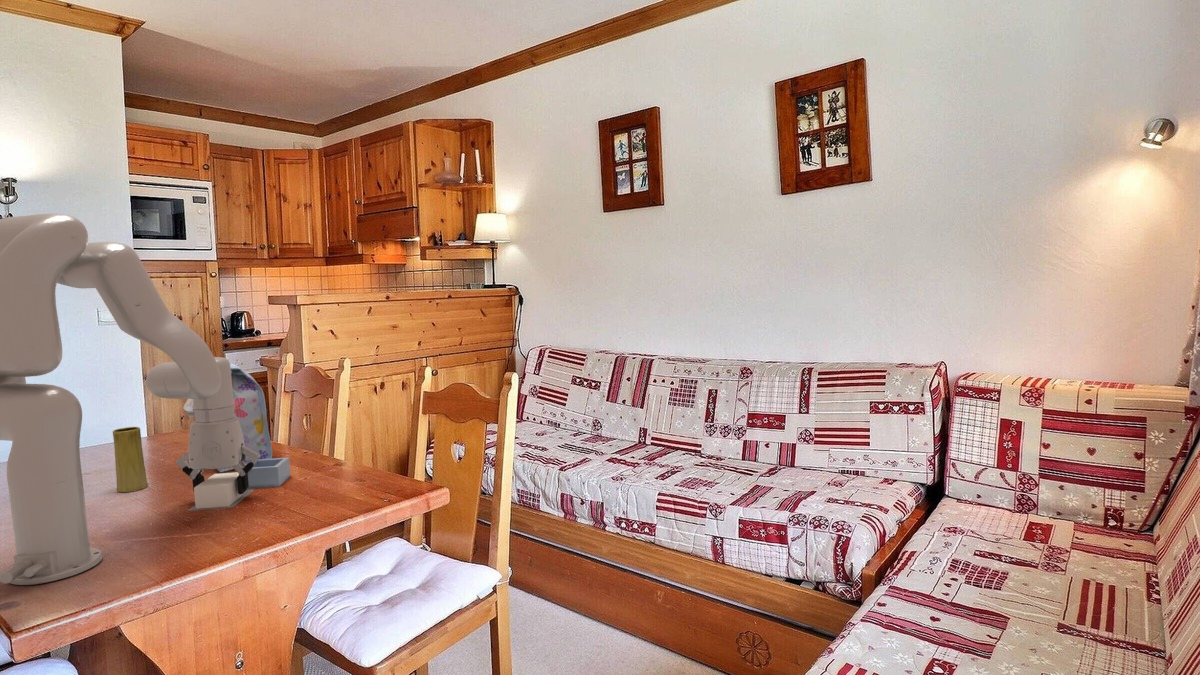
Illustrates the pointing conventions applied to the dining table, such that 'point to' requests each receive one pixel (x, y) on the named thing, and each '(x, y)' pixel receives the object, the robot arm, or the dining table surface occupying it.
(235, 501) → the mat
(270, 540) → the dining table surface
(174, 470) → the dining table surface
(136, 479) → the vase
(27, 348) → the robot arm
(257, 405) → the lunch bag
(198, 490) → the lid
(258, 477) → the open box
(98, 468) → the dining table surface
